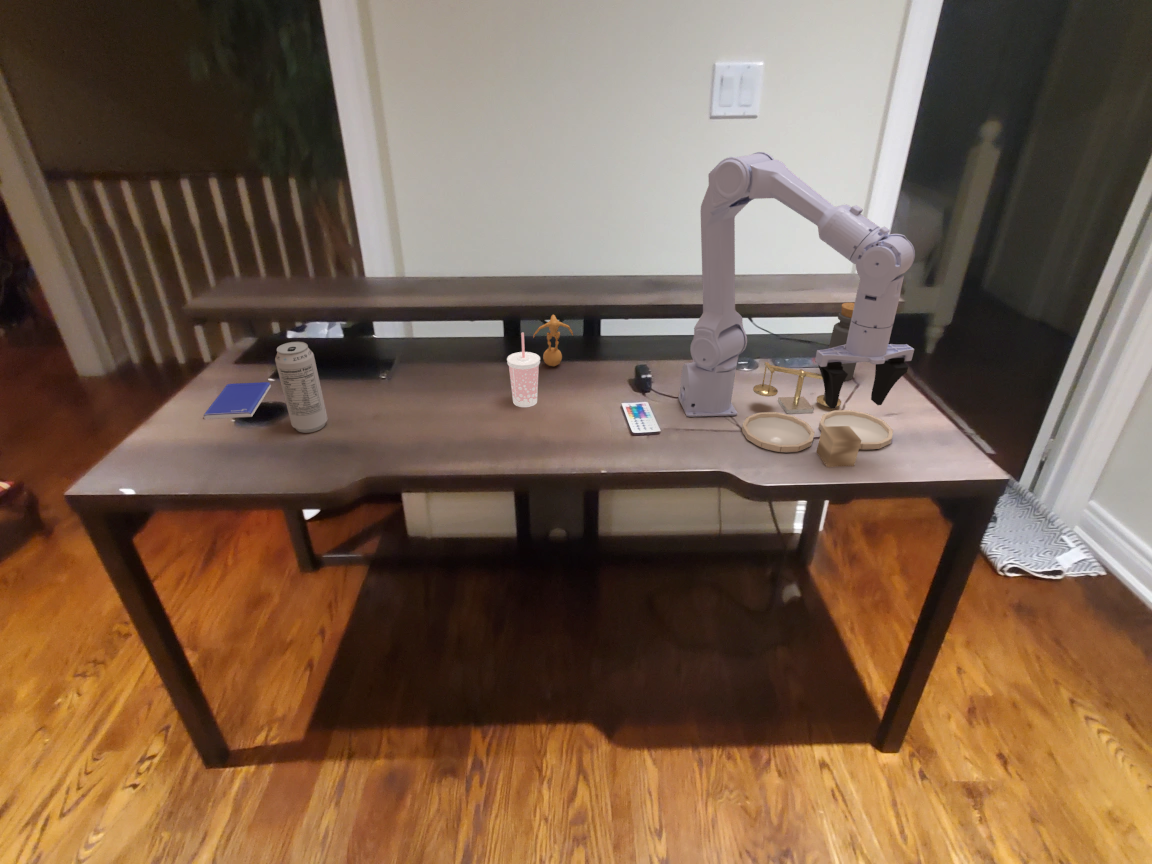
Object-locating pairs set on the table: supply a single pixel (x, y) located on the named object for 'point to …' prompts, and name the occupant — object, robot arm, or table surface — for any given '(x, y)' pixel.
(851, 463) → the maple block
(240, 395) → the hard drive
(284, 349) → the energy drink can
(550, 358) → the figurine
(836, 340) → the bottle
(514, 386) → the beverage cup
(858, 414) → the right dish
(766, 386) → the balance scale
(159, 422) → the table surface
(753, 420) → the left dish
